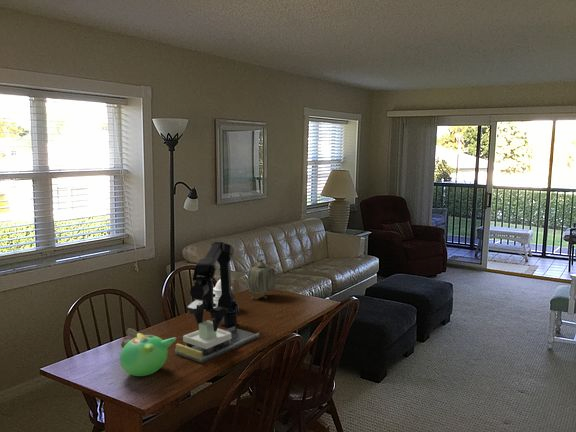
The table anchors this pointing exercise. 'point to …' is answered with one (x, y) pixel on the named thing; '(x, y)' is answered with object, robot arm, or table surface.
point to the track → (216, 346)
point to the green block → (206, 330)
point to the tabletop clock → (261, 278)
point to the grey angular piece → (131, 333)
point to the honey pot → (217, 293)
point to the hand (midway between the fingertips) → (207, 329)
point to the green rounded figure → (144, 354)
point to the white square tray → (221, 337)
